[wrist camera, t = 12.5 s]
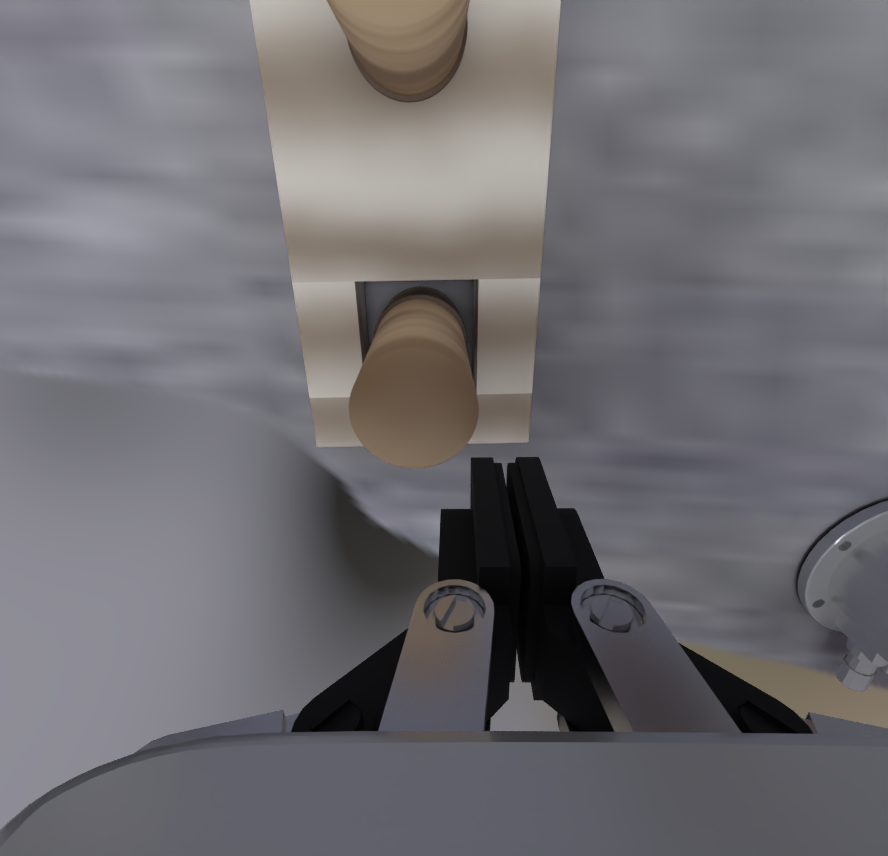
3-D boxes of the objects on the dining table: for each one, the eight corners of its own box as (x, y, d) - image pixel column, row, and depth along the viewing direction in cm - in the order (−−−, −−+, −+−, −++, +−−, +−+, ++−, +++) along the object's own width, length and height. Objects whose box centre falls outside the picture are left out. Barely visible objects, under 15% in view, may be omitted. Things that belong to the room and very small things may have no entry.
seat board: (519, 420, 29) (570, 548, 19) (327, 424, 29) (266, 555, 18) (553, -120, 19) (714, -549, 8) (254, -118, 19) (9, -554, 8)
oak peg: (462, 365, 28) (481, 470, 17) (383, 366, 28) (351, 473, 17) (463, 282, 26) (484, 343, 15) (377, 284, 26) (336, 346, 15)
